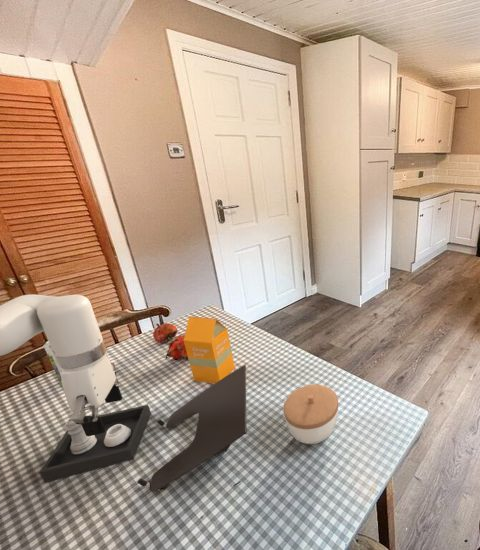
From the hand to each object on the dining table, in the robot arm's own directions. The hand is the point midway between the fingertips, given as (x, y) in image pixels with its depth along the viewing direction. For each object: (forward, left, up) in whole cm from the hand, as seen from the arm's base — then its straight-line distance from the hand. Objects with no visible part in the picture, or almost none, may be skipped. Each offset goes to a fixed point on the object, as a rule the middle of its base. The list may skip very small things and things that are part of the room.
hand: (106, 416), depth 69 cm
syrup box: (-19, +30, -8) cm, 37 cm away
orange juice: (+20, +18, -8) cm, 28 cm away
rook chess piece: (-6, 0, -7) cm, 9 cm away
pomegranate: (+2, +43, -8) cm, 44 cm away
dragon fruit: (+10, +31, -8) cm, 33 cm away
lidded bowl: (+45, -13, -8) cm, 47 cm away
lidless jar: (+1, 0, -7) cm, 7 cm away
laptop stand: (+20, -7, -8) cm, 22 cm away
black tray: (-2, 0, -8) cm, 8 cm away
